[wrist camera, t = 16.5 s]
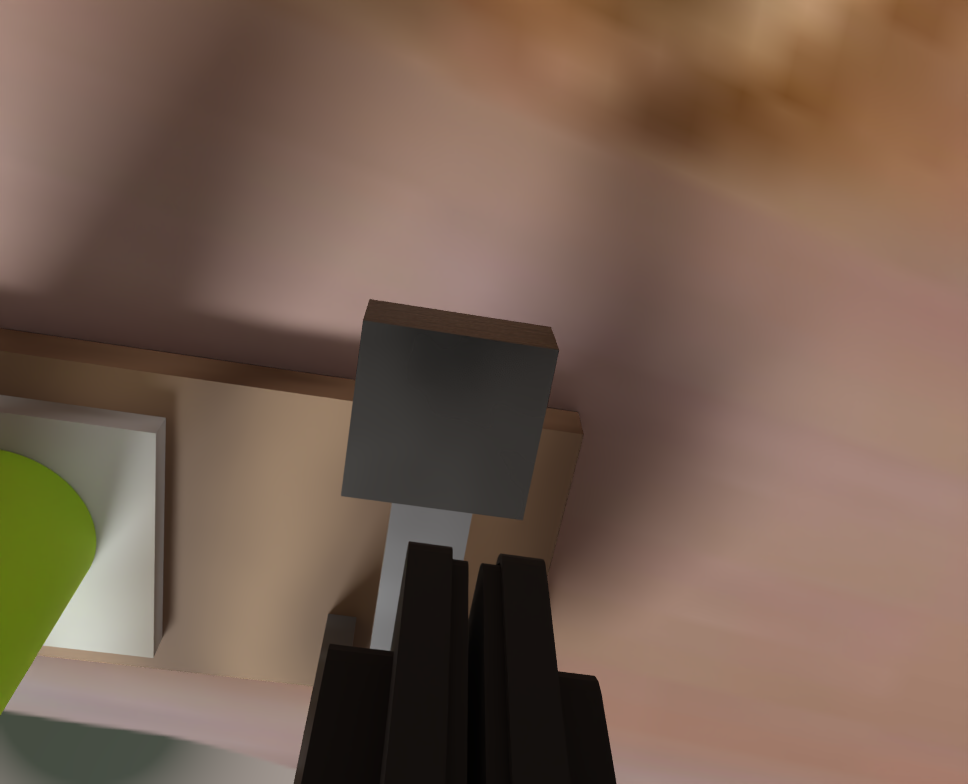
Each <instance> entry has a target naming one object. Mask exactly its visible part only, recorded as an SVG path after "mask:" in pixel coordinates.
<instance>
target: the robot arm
mask: <svg viewBox="0 0 968 784" xmlns="http://www.w3.org/2000/svg"><path fill="white" fill-rule="evenodd" d="M468 586H469V564H468V561H463V560H456V559H453V548H452V547H449V546H441V545H434V544H426V543H419V542H411V541H409V542H408V547H407V553H406V558H405V564H404V570H403V576H402V582H401V589H400V595H399V601H398V607H397V613H396V619H395V625H394V631H393V637H392V643H391V649H390V651H386V650H378V649H370V648H361V647H353V646H345V645H337V644H329V648H328V652H327V657H326V662H325V666H324V671H323V676H322V681H321V686H320V691H319V696H318V701H317V706H316V711H315V716H314V721H313V726H312V731H311V736H310V741H309V746H308V751H307V756H306V761H305V766H304V771H303V776H302V781H301V784H616V778H615V772H614V766H613V760H612V754H611V748H610V742H609V736H608V730H607V724H606V718H605V712H604V706H603V700H602V694H601V690H600V686H599V682H598V680H597V679H596V677H595V676H591V675H583V674H575V673H567V672H558V668H557V660H556V651H555V642H554V633H553V624H552V616H551V607H550V598H549V589H548V581H547V572H546V565H545V561H544V560H543V559H539V558H532V557H524V556H517V555H509V554H502V553H500V554H499V556H498V558H497V562H496V565H494V564H486V563H481V565H480V568H479V572H478V577H477V581H476V586H475V591H474V595H473V600H472V604H471V609H470V614H469V618H468Z"/></svg>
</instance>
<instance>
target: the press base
mask: <svg viewBox="0 0 968 784" xmlns="http://www.w3.org/2000/svg"><path fill="white" fill-rule="evenodd" d="M354 388H355V380H353V379H346V378H339V377H332V376H325V375H318V374H311V373H304V372H297V371H291V370H284V369H277V368H270V367H263V366H256V365H249V364H242V363H236V362H229V361H222V360H215V359H208V358H201V357H194V356H187V355H180V354H174V353H167V352H160V351H153V350H146V349H139V348H132V347H125V346H119V345H112V344H105V343H98V342H91V341H84V340H77V339H70V338H64V337H57V336H50V335H43V334H36V333H29V332H22V331H15V330H8V329H2V328H0V450H4V451H8V452H12V453H15V454H19V455H22V456H24V457H27V458H29V459H32V460H34V461H36V462H38V463H40V464H42V465H43V466H45V467H47V468H48V469H50V470H52V471H53V472H54V473H56V474H57V475H59V476H60V477H61V478H62V479H63V480H65V481H66V482H67V483H68V484H69V485H70V486H71V487H72V488H73V489H74V490H75V491H76V493H77V494H78V495H79V496H80V498H81V499H82V501H83V502H84V504H85V505H86V507H87V509H88V511H89V513H90V515H91V517H92V520H93V523H94V527H95V532H96V551H95V556H94V559H93V562H92V565H91V567H90V569H89V570H88V572H87V574H86V575H85V577H84V579H83V580H82V582H81V584H80V585H79V587H78V588H77V590H76V592H75V593H74V595H73V597H72V598H71V600H70V602H69V603H68V605H67V607H66V608H65V610H64V611H63V613H62V615H61V616H60V618H59V620H58V621H57V623H56V625H55V626H54V628H53V630H52V631H51V633H50V634H49V636H48V638H47V639H46V641H45V643H44V644H43V646H42V648H41V649H40V651H39V652H38V654H37V656H46V657H55V658H64V659H73V660H82V661H91V662H100V663H109V664H118V665H127V666H135V667H144V668H153V669H162V670H171V671H180V672H189V673H198V674H207V675H216V676H225V677H234V678H243V679H251V680H260V681H269V682H278V683H287V684H296V685H305V686H313V691H312V696H311V701H310V706H309V711H308V716H307V721H306V726H305V730H304V735H303V740H302V745H301V750H300V755H299V760H298V765H297V770H296V775H295V780H294V784H301V781H302V776H303V771H304V766H305V761H306V756H307V751H308V746H309V741H310V736H311V731H312V726H313V721H314V716H315V711H316V706H317V701H318V696H319V691H320V686H321V681H322V676H323V671H324V666H325V662H326V657H327V652H328V648H329V644H337V645H345V646H353V647H361V648H370V641H371V635H372V628H373V621H374V615H375V608H376V601H377V595H378V588H379V582H380V575H381V568H382V562H383V555H384V548H385V542H386V535H387V528H388V522H389V515H390V508H391V503H389V502H381V501H374V500H366V499H358V498H351V497H343V496H341V491H342V483H343V475H344V467H345V459H346V451H347V443H348V435H349V427H350V420H351V412H352V404H353V396H354ZM583 435H584V434H583V430H582V426H581V422H580V418H579V414H578V412H573V411H566V410H559V409H552V408H547V409H546V414H545V418H544V423H543V428H542V432H541V437H540V442H539V447H538V451H537V456H536V461H535V465H534V470H533V475H532V480H531V484H530V489H529V494H528V498H527V503H526V508H525V513H524V517H523V520H517V519H509V518H502V517H494V516H487V515H479V514H472V518H471V524H470V529H469V534H468V540H467V545H466V550H465V556H464V561H468V564H469V586H468V618H469V614H470V609H471V604H472V600H473V595H474V591H475V586H476V581H477V577H478V572H479V568H480V565H481V563H486V564H494V565H496V562H497V558H498V556H499V554H500V553H502V554H509V555H517V556H524V557H532V558H539V559H543V560H544V561H545V565H546V572H547V576H548V572H549V568H550V564H551V560H552V556H553V552H554V548H555V544H556V541H557V537H558V533H559V529H560V525H561V521H562V517H563V513H564V509H565V505H566V501H567V497H568V494H569V490H570V486H571V482H572V478H573V474H574V470H575V466H576V462H577V458H578V454H579V451H580V447H581V443H582V439H583Z"/></svg>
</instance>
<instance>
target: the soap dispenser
mask: <svg viewBox="0 0 968 784" xmlns="http://www.w3.org/2000/svg"><path fill="white" fill-rule="evenodd" d="M95 551H96V532H95V527H94V523H93V520H92V517H91V515H90V513H89V511H88V509H87V507H86V505H85V504H84V502H83V501H82V499H81V498H80V496H79V495H78V494H77V493H76V491H75V490H74V489H73V488H72V487H71V486H70V485H69V484H68V483H67V482H66V481H65V480H63V479H62V478H61V477H60V476H59V475H57V474H56V473H54V472H53V471H52V470H50V469H48V468H47V467H45V466H43V465H42V464H40V463H38V462H36V461H34V460H32V459H29V458H27V457H24V456H22V455H19V454H15V453H12V452H8V451H4V450H0V715H1V713H2V712H3V710H4V708H5V707H6V705H7V703H8V702H9V700H10V698H11V697H12V695H13V694H14V692H15V690H16V689H17V687H18V685H19V684H20V682H21V680H22V679H23V677H24V675H25V674H26V672H27V671H28V669H29V667H30V666H31V664H32V662H33V661H34V659H35V657H36V656H37V654H38V652H39V651H40V649H41V648H42V646H43V644H44V643H45V641H46V639H47V638H48V636H49V634H50V633H51V631H52V630H53V628H54V626H55V625H56V623H57V621H58V620H59V618H60V616H61V615H62V613H63V611H64V610H65V608H66V607H67V605H68V603H69V602H70V600H71V598H72V597H73V595H74V593H75V592H76V590H77V588H78V587H79V585H80V584H81V582H82V580H83V579H84V577H85V575H86V574H87V572H88V570H89V569H90V567H91V565H92V562H93V559H94V556H95Z"/></svg>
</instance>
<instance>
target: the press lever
mask: <svg viewBox="0 0 968 784" xmlns="http://www.w3.org/2000/svg"><path fill="white" fill-rule="evenodd" d="M558 352H559V349H558V346H557V343H556V340H555V337H554V334H553V332H552V329H551V327H547V326H540V325H534V324H527V323H521V322H514V321H508V320H501V319H495V318H488V317H482V316H475V315H469V314H462V313H456V312H449V311H443V310H437V309H430V308H424V307H417V306H411V305H404V304H398V303H391V302H385V301H378V300H372V299H370V300H369V303H368V306H367V309H366V312H365V316H364V319H363V325H362V333H361V341H360V349H359V356H358V364H357V372H356V380H355V388H354V396H353V404H352V412H351V420H350V427H349V435H348V443H347V451H346V459H345V467H344V475H343V483H342V491H341V496H343V497H351V498H358V499H366V500H374V501H381V502H389V503H391V508H390V515H389V522H388V528H387V535H386V542H385V548H384V555H383V562H382V568H381V575H380V582H379V588H378V595H377V601H376V608H375V615H374V621H373V628H372V635H371V641H370V649H378V650H386V651H390V649H391V643H392V637H393V631H394V625H395V619H396V613H397V607H398V601H399V595H400V589H401V582H402V576H403V570H404V564H405V558H406V553H407V547H408V542H409V541H411V542H419V543H426V544H434V545H441V546H449V547H452V548H453V559H456V560H463V561H464V556H465V550H466V545H467V540H468V534H469V529H470V524H471V518H472V514H479V515H487V516H494V517H502V518H509V519H517V520H523V517H524V513H525V508H526V503H527V498H528V494H529V489H530V484H531V480H532V475H533V470H534V465H535V461H536V456H537V451H538V447H539V442H540V437H541V432H542V428H543V423H544V418H545V414H546V409H547V404H548V399H549V395H550V390H551V385H552V381H553V376H554V371H555V366H556V362H557V357H558Z"/></svg>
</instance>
